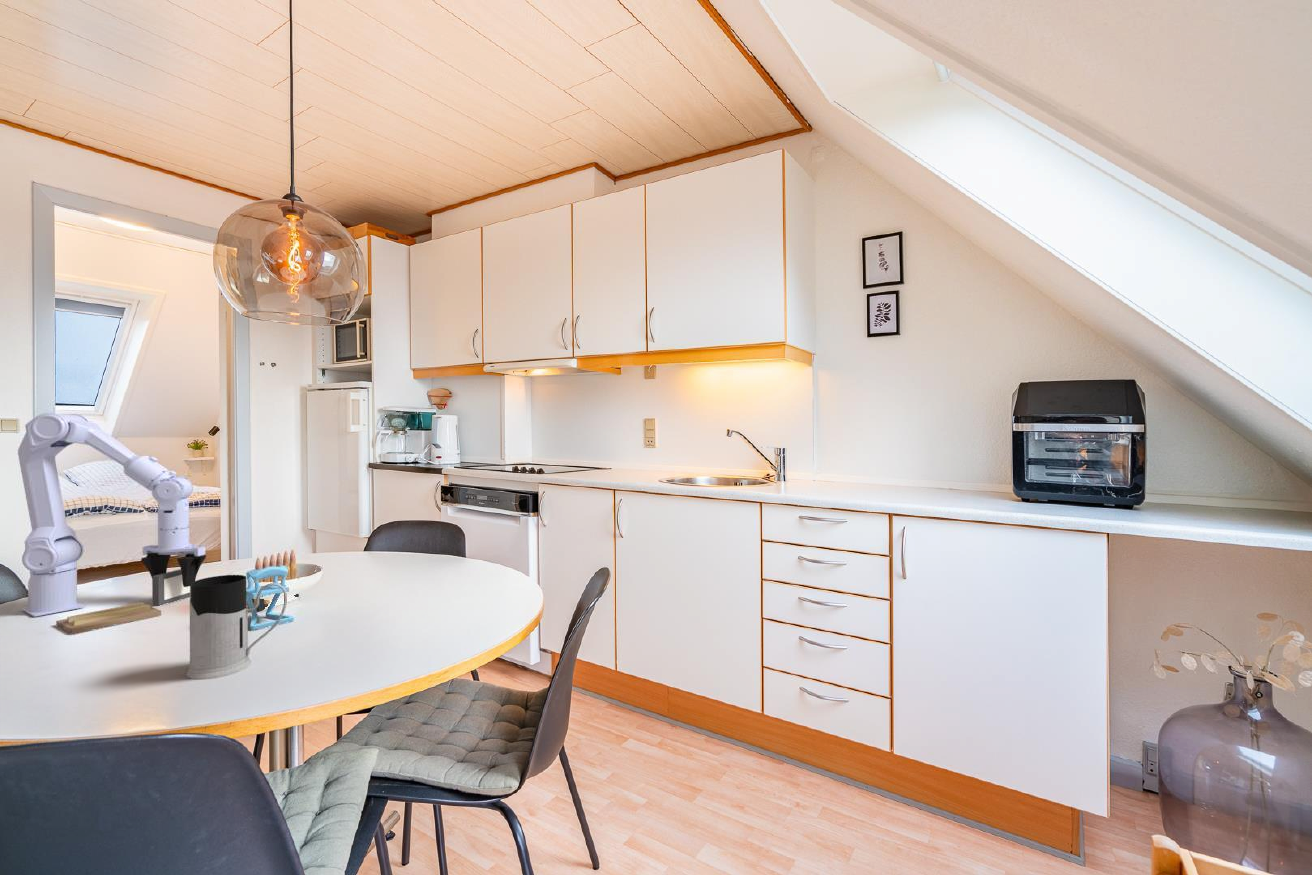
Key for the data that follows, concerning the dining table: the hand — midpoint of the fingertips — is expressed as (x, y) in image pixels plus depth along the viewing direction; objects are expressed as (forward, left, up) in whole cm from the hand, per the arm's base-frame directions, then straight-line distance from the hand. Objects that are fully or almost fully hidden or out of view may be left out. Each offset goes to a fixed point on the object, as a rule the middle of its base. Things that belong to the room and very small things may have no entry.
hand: (174, 585), depth 136 cm
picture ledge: (+6, -13, -4) cm, 15 cm away
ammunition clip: (+24, +11, -4) cm, 27 cm away
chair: (+35, +4, -4) cm, 35 cm away
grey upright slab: (0, 0, -4) cm, 4 cm away
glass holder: (+56, -10, -4) cm, 57 cm away
